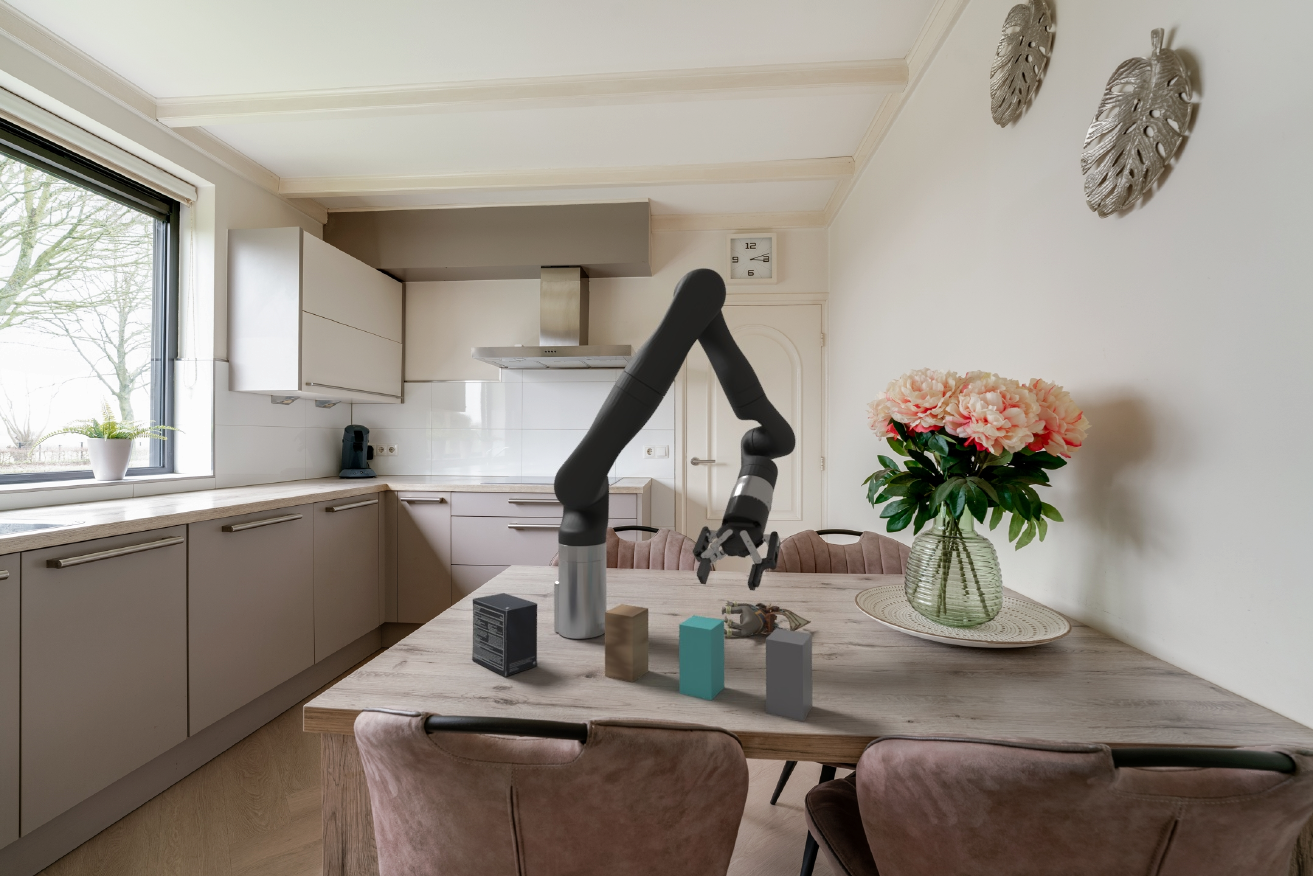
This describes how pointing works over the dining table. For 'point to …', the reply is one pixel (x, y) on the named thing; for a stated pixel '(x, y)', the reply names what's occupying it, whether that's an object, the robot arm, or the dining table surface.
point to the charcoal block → (789, 674)
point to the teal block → (701, 657)
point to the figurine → (758, 618)
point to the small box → (504, 633)
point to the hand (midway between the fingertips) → (725, 584)
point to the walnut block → (626, 642)
